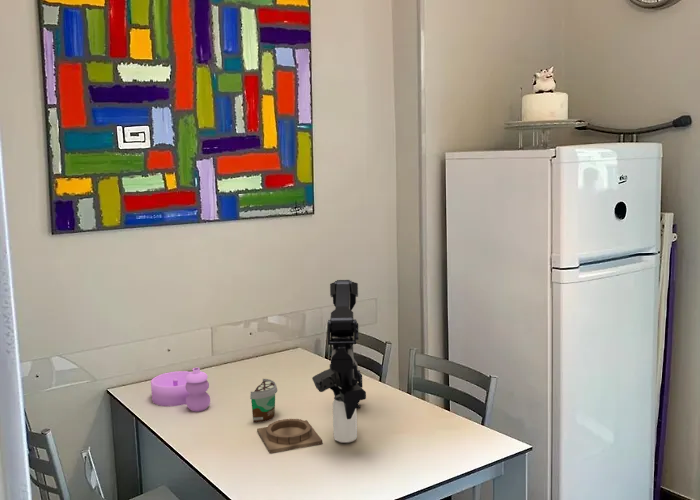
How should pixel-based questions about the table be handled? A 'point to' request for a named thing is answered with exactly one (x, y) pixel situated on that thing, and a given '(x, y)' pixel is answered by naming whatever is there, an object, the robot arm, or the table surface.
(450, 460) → the table surface
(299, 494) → the table surface
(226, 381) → the table surface
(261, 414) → the food container
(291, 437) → the brown ring stand base
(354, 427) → the can
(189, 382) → the container set
